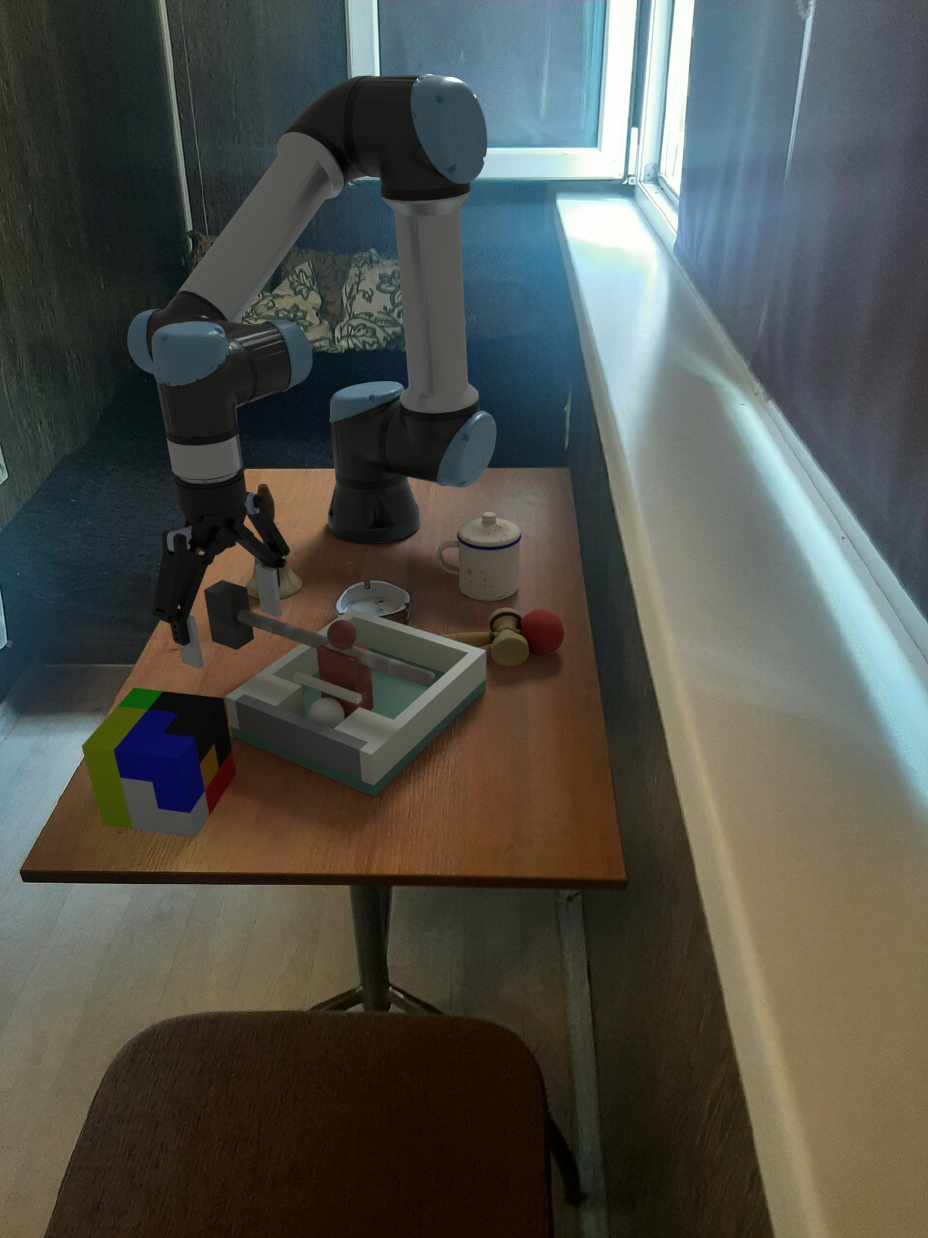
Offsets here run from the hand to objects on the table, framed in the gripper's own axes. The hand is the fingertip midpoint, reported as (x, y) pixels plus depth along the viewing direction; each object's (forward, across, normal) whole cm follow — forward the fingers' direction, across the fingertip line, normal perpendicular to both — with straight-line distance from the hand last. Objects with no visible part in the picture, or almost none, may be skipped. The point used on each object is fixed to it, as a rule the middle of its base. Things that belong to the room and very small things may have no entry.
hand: (233, 638), depth 114 cm
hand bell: (+6, -21, -13) cm, 26 cm away
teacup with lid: (+6, -36, +13) cm, 39 cm away
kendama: (+7, -21, +24) cm, 33 cm away
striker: (+4, 0, +13) cm, 14 cm away
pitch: (+6, -2, +17) cm, 18 cm away
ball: (+3, +4, +17) cm, 18 cm away
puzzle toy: (+6, +20, +9) cm, 23 cm away
